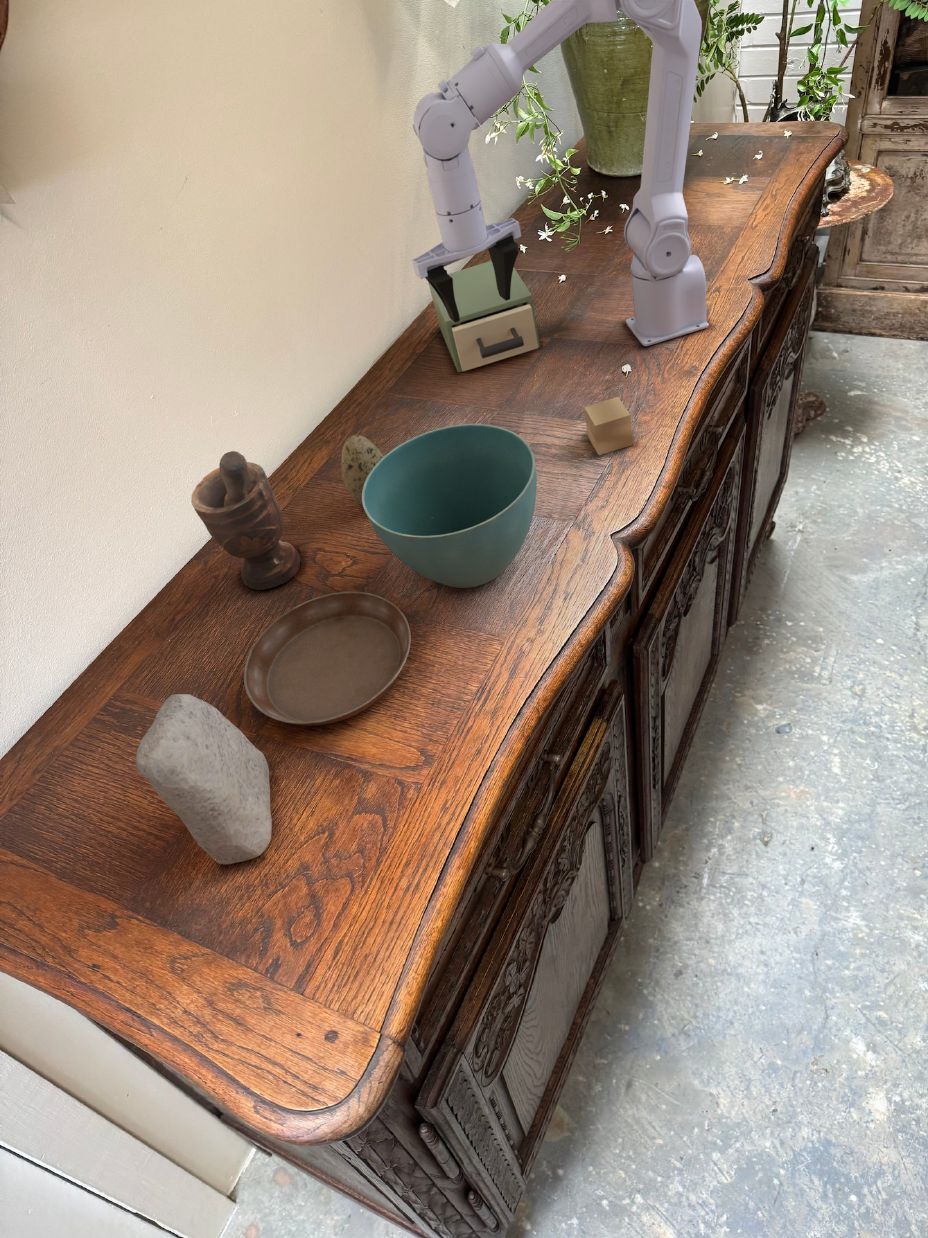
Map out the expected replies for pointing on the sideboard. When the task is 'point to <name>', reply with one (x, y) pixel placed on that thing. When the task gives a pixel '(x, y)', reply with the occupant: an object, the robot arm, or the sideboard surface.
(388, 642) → the plant saucer
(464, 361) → the drawer
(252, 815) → the decorative stone
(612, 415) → the block
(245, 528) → the mortar and pestle
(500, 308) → the cabinet
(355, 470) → the decorative egg
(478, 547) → the plant pot
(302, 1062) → the sideboard surface
